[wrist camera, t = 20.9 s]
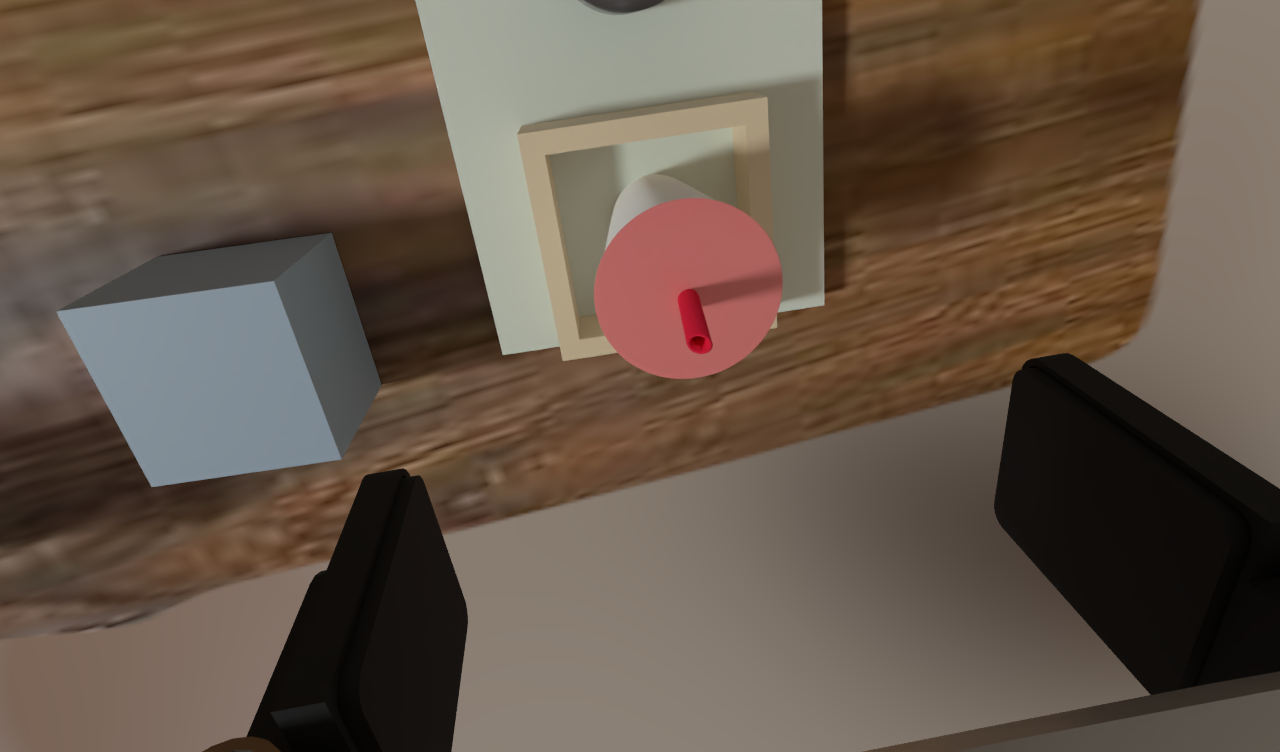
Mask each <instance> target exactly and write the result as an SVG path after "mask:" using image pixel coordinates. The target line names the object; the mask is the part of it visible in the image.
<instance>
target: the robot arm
mask: <svg viewBox="0 0 1280 752" xmlns="http://www.w3.org/2000/svg"><path fill="white" fill-rule="evenodd" d="M994 509H995V514H996V517H997V520H998V522H999V524H1000V525H1001V526H1002V528H1003V529H1004V530H1005V531H1006V532H1007V533H1008V535H1009V536H1010V537H1011V538H1012V539H1013V540H1014V541H1015V542H1016V544H1017V545H1018V546H1019V547H1020V548H1021V549H1022V550H1023V551H1024V552H1025V554H1026V555H1027V556H1028V557H1029V558H1030V559H1031V560H1032V562H1033V563H1034V564H1035V565H1036V566H1037V567H1038V568H1039V569H1040V571H1041V572H1042V573H1043V574H1044V575H1045V576H1046V577H1047V579H1048V580H1049V581H1050V582H1051V583H1052V584H1053V585H1054V586H1055V587H1056V589H1057V590H1058V591H1059V592H1060V593H1061V594H1062V595H1063V597H1064V598H1065V599H1066V600H1067V601H1068V602H1069V603H1070V604H1071V605H1072V606H1073V608H1074V609H1075V610H1076V611H1077V612H1078V613H1079V614H1080V616H1081V617H1082V618H1083V619H1084V620H1085V621H1086V622H1087V624H1088V625H1089V626H1090V627H1091V628H1092V629H1093V630H1094V631H1095V632H1096V634H1097V635H1098V636H1099V637H1100V638H1101V639H1102V640H1103V642H1104V643H1105V644H1106V645H1107V646H1108V647H1109V648H1110V649H1111V650H1112V652H1113V653H1114V654H1115V655H1116V656H1117V657H1118V658H1119V660H1120V661H1121V662H1122V663H1123V664H1124V665H1125V666H1126V667H1127V669H1128V670H1129V671H1130V672H1131V673H1132V674H1133V675H1134V676H1135V678H1136V679H1137V680H1138V681H1139V682H1140V683H1141V684H1142V686H1143V687H1144V688H1145V689H1146V690H1147V691H1148V692H1149V693H1150V694H1151V695H1149V696H1144V697H1139V698H1134V699H1129V700H1123V701H1119V702H1113V703H1108V704H1103V705H1098V706H1093V707H1087V708H1082V709H1077V710H1072V711H1066V712H1061V713H1056V714H1051V715H1046V716H1040V717H1035V718H1030V719H1025V720H1020V721H1015V722H1010V723H1005V724H1000V725H995V726H989V727H984V728H979V729H975V730H969V731H964V732H960V733H955V734H949V735H944V736H939V737H934V738H929V739H924V740H919V741H914V742H909V743H904V744H899V745H894V746H889V747H884V748H879V749H874V750H869V751H864V752H1280V489H1279V488H1278V487H1276V486H1274V485H1273V484H1271V483H1270V482H1268V481H1267V480H1265V479H1264V478H1262V477H1260V476H1259V475H1257V474H1256V473H1254V472H1253V471H1251V470H1250V469H1248V468H1247V467H1245V466H1244V465H1242V464H1240V463H1239V462H1237V461H1236V460H1234V459H1233V458H1231V457H1230V456H1228V455H1227V454H1225V453H1224V452H1222V451H1220V450H1219V449H1217V448H1216V447H1214V446H1213V445H1211V444H1210V443H1208V442H1207V441H1205V440H1203V439H1202V438H1200V437H1199V436H1197V435H1196V434H1194V433H1193V432H1191V431H1190V430H1188V429H1186V428H1185V427H1183V426H1182V425H1180V424H1179V423H1177V422H1176V421H1174V420H1173V419H1171V418H1169V417H1168V416H1166V415H1165V414H1163V413H1162V412H1160V411H1159V410H1157V409H1156V408H1154V407H1152V406H1151V405H1149V404H1148V403H1146V402H1145V401H1143V400H1142V399H1140V398H1139V397H1137V396H1135V395H1134V394H1132V393H1131V392H1129V391H1128V390H1126V389H1125V388H1123V387H1121V386H1120V385H1118V384H1117V383H1115V382H1114V381H1112V380H1111V379H1109V378H1108V377H1106V376H1105V375H1103V374H1101V373H1100V372H1098V371H1097V370H1095V369H1094V368H1092V367H1091V366H1089V365H1088V364H1086V363H1084V362H1083V361H1081V360H1080V359H1078V358H1077V357H1075V356H1073V355H1071V354H1069V353H1063V354H1057V355H1051V356H1045V357H1040V358H1034V359H1030V360H1028V361H1026V362H1025V364H1024V365H1023V367H1022V370H1019V371H1018V372H1016V374H1015V375H1014V378H1013V382H1012V389H1011V395H1010V402H1009V409H1008V415H1007V422H1006V429H1005V435H1004V442H1003V449H1002V456H1001V462H1000V468H999V475H998V482H997V488H996V495H995V502H994ZM467 626H468V615H467V608H466V602H465V599H464V596H463V593H462V590H461V588H460V585H459V582H458V579H457V576H456V574H455V570H454V567H453V564H452V562H451V559H450V556H449V553H448V550H447V547H446V544H445V542H444V538H443V536H442V533H441V530H440V527H439V524H438V521H437V518H436V515H435V513H434V510H433V507H432V504H431V501H430V498H429V495H428V492H427V489H426V487H425V484H424V481H423V479H422V478H421V476H419V475H418V476H412V477H410V475H409V473H408V472H407V470H405V469H397V470H391V471H386V472H380V473H374V474H369V475H366V476H365V477H364V478H363V480H362V482H361V485H360V487H359V490H358V492H357V495H356V498H355V500H354V503H353V505H352V508H351V510H350V513H349V515H348V518H347V520H346V523H345V525H344V528H343V530H342V533H341V535H340V538H339V540H338V543H337V545H336V548H335V550H334V553H333V556H332V558H331V561H330V563H329V566H328V568H327V570H325V571H321V572H319V573H318V574H317V575H315V577H314V578H313V580H312V582H311V583H310V585H309V588H308V590H307V593H306V595H305V598H304V600H303V602H302V605H301V607H300V610H299V612H298V614H297V617H296V619H295V622H294V624H293V626H292V629H291V632H290V634H289V636H288V639H287V641H286V643H285V646H284V649H283V651H282V653H281V655H280V658H279V660H278V662H277V665H276V667H275V670H274V672H273V675H272V677H271V679H270V682H269V684H268V687H267V689H266V691H265V694H264V696H263V698H262V701H261V703H260V706H259V708H258V711H257V713H256V715H255V718H254V720H253V723H252V725H251V727H250V730H249V732H248V735H247V737H243V738H235V739H230V740H228V741H225V742H222V743H220V744H217V745H214V746H211V747H210V748H208V749H206V750H205V751H203V752H451V749H452V742H453V734H454V727H455V719H456V711H457V704H458V696H459V688H460V680H461V673H462V664H463V657H464V650H465V642H466V634H467Z"/></svg>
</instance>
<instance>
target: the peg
mask: <svg viewBox="0 0 1280 752" xmlns="http://www.w3.org/2000/svg"><path fill="white" fill-rule="evenodd" d="M578 1H580V2H581V3H582V4H584V5H585V6H587V7H589V8H590V9H592V10H595V11H597V12H600V13H604V14H608V15H626V14H630V13H634V12H638V11H641V10H644V9H647V8H650V7H653V6H655V5H657V4H659V3H661V2H663V1H664V0H578Z"/></svg>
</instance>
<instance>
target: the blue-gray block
mask: <svg viewBox="0 0 1280 752" xmlns="http://www.w3.org/2000/svg"><path fill="white" fill-rule="evenodd" d="M56 312H57V314H58V316H59V318H60V319H61V321H62V323H63V325H64V327H65V329H66V330H67V332H68V334H69V336H70V338H71V340H72V341H73V343H74V345H75V347H76V349H77V351H78V353H79V354H80V356H81V358H82V360H83V362H84V364H85V365H86V367H87V369H88V371H89V373H90V375H91V376H92V378H93V380H94V382H95V384H96V386H97V387H98V389H99V391H100V393H101V395H102V397H103V399H104V400H105V402H106V404H107V406H108V408H109V410H110V411H111V413H112V415H113V417H114V419H115V421H116V422H117V424H118V426H119V428H120V430H121V432H122V433H123V435H124V437H125V439H126V441H127V443H128V445H129V446H130V448H131V450H132V452H133V454H134V456H135V457H136V459H137V461H138V463H139V465H140V467H141V468H142V470H143V472H144V474H145V476H146V478H147V479H148V481H149V483H150V485H151V487H157V486H163V485H170V484H177V483H184V482H191V481H197V480H204V479H211V478H218V477H225V476H232V475H238V474H245V473H252V472H259V471H266V470H273V469H279V468H286V467H293V466H300V465H307V464H314V463H320V462H327V461H334V460H341V459H342V458H343V456H344V454H345V452H346V450H347V448H348V447H349V445H350V443H351V441H352V439H353V437H354V435H355V434H356V432H357V430H358V428H359V426H360V424H361V423H362V421H363V419H364V417H365V415H366V413H367V411H368V410H369V408H370V406H371V404H372V402H373V400H374V398H375V397H376V395H377V393H378V391H379V389H380V387H381V382H380V379H379V376H378V373H377V370H376V367H375V363H374V360H373V357H372V354H371V351H370V348H369V345H368V342H367V339H366V336H365V333H364V330H363V327H362V324H361V321H360V318H359V315H358V312H357V309H356V306H355V302H354V299H353V296H352V293H351V290H350V287H349V284H348V281H347V278H346V275H345V272H344V269H343V266H342V263H341V260H340V257H339V254H338V251H337V248H336V245H335V242H334V238H333V235H332V233H326V234H319V235H311V236H304V237H297V238H290V239H282V240H275V241H268V242H261V243H254V244H246V245H239V246H232V247H225V248H217V249H210V250H203V251H196V252H188V253H181V254H174V255H167V256H159V257H155V258H154V259H152V260H150V261H148V262H146V263H144V264H143V265H141V266H139V267H137V268H135V269H133V270H132V271H130V272H128V273H126V274H124V275H122V276H120V277H119V278H117V279H115V280H113V281H111V282H109V283H108V284H106V285H104V286H102V287H100V288H98V289H97V290H95V291H93V292H91V293H89V294H87V295H86V296H84V297H82V298H80V299H78V300H76V301H74V302H73V303H71V304H69V305H67V306H65V307H63V308H62V309H60V310H58V311H56Z"/></svg>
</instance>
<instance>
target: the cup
mask: <svg viewBox="0 0 1280 752" xmlns="http://www.w3.org/2000/svg"><path fill="white" fill-rule="evenodd" d="M782 289H783V276H782V268H781V263H780V259H779V256H778V253H777V251H776V249H775V246H774V244H773V242H772V241H771V239H770V237H769V236H768V234H767V233H766V232H765V230H764V229H763V228H762V227H761V226H760V225H759V224H758V223H757V222H756V221H755V220H754V219H753V218H751V217H750V216H749V215H747V214H746V213H745V212H743V211H741V210H740V209H738V208H736V207H734V206H731V205H729V204H726V203H723V202H720V201H716V200H713V199H712V198H710V197H708V196H706V195H705V194H703V193H701V192H699V191H698V190H696V189H694V188H692V187H690V186H689V185H687V184H685V183H683V182H681V181H679V180H677V179H675V178H673V177H670V176H667V175H661V174H652V175H646V176H643V177H640V178H638V179H636V180H634V181H633V182H631V183H630V184H628V185H627V186H626V187H625V188H624V189H623V191H622V192H621V193H620V195H619V196H618V198H617V200H616V203H615V205H614V209H613V214H612V217H611V222H610V227H609V232H608V237H607V242H606V248H605V252H604V254H603V256H602V259H601V261H600V264H599V266H598V270H597V274H596V278H595V285H594V303H595V310H596V315H597V318H598V321H599V324H600V327H601V329H602V331H603V333H604V335H605V337H606V338H607V340H608V341H609V343H610V344H611V345H612V347H613V348H614V349H615V350H616V351H617V352H618V353H619V354H620V355H621V356H622V357H623V358H624V359H625V360H627V361H628V362H629V363H631V364H632V365H634V366H636V367H637V368H639V369H641V370H643V371H646V372H648V373H651V374H654V375H657V376H661V377H666V378H674V379H691V378H699V377H704V376H708V375H712V374H715V373H717V372H720V371H722V370H725V369H727V368H729V367H731V366H733V365H734V364H736V363H737V362H739V361H740V360H742V359H743V358H745V357H746V356H747V355H748V354H749V353H751V352H752V351H753V350H754V349H755V348H756V347H757V346H758V345H759V343H760V342H761V341H762V340H763V338H764V337H765V336H766V334H767V333H768V331H769V330H770V328H771V326H772V324H773V322H774V320H775V318H776V315H777V313H778V310H779V306H780V302H781V297H782Z"/></svg>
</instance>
